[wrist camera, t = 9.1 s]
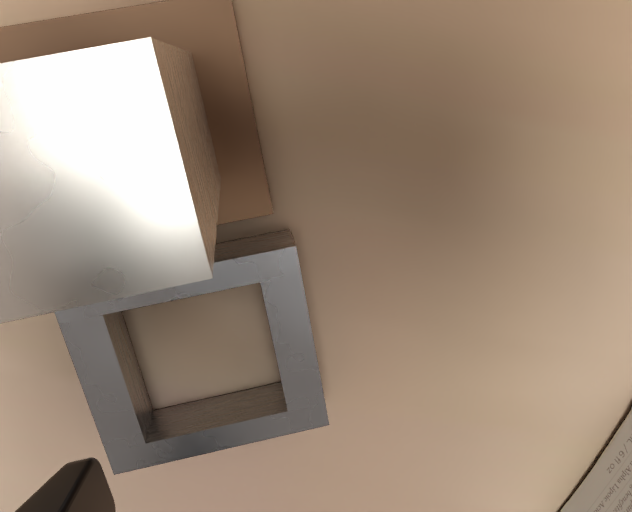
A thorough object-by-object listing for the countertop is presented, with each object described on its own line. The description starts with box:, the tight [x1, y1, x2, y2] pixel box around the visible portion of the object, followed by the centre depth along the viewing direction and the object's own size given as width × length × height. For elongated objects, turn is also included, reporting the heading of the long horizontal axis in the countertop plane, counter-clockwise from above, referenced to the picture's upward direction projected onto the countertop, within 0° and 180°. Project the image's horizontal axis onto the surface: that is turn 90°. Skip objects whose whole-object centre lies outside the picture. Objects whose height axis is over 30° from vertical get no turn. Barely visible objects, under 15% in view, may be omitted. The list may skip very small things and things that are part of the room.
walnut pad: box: [0, 0, 273, 225], centre depth 17 cm, size 7×7×1 cm
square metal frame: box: [55, 229, 329, 475], centre depth 20 cm, size 7×8×2 cm
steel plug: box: [0, 37, 221, 323], centre depth 13 cm, size 4×4×9 cm
